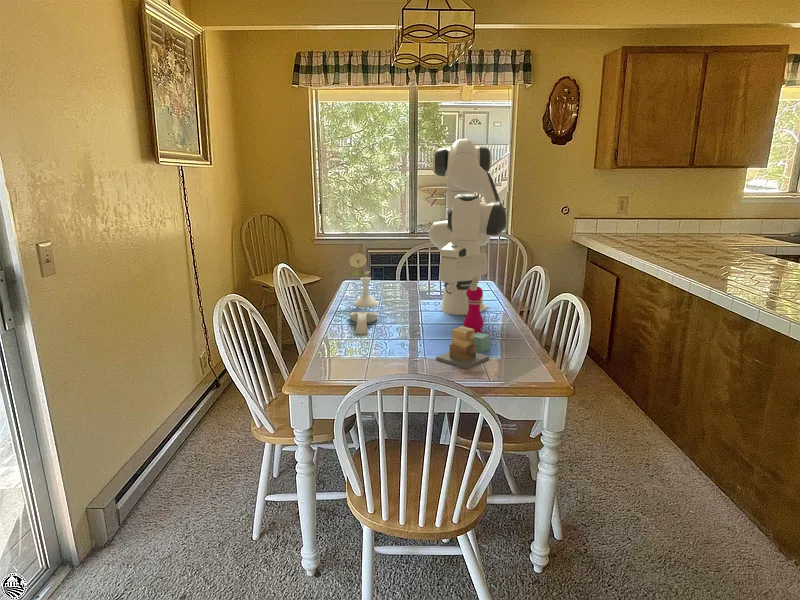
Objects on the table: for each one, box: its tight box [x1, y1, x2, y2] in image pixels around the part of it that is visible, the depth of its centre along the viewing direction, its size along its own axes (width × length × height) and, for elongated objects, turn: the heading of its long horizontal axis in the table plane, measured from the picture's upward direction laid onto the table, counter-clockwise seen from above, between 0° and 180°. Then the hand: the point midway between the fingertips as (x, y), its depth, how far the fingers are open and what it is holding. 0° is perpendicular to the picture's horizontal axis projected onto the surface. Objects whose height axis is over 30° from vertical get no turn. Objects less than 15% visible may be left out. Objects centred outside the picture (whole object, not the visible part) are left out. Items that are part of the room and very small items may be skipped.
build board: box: [435, 351, 490, 370], centre depth 162 cm, size 12×12×1 cm
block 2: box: [474, 332, 491, 354], centre depth 171 cm, size 5×5×5 cm
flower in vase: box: [348, 252, 379, 308], centre depth 224 cm, size 13×11×25 cm
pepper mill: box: [463, 285, 484, 333], centre depth 185 cm, size 7×7×20 cm
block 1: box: [451, 325, 474, 348], centre depth 160 cm, size 5×5×5 cm
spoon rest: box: [348, 311, 379, 335], centre depth 197 cm, size 24×12×7 cm, turn 3°
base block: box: [449, 343, 477, 361], centre depth 161 cm, size 6×6×4 cm
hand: (464, 292), depth 157 cm, fingers open, 8 cm apart
